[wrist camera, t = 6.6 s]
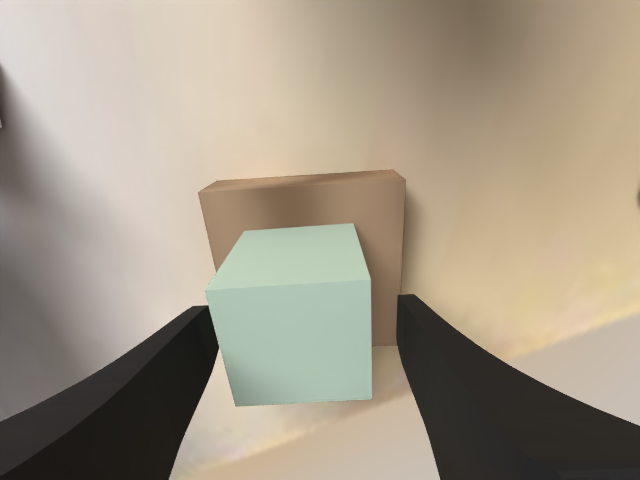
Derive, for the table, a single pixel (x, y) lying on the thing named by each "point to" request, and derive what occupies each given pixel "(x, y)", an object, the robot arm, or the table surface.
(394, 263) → the walnut base
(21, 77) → the table surface
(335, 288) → the sage cube
